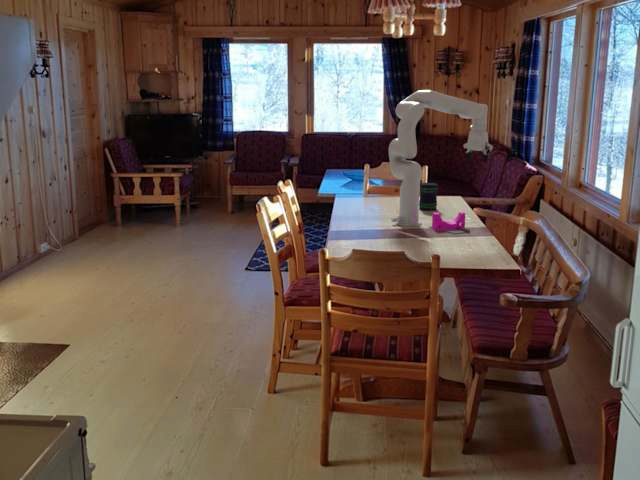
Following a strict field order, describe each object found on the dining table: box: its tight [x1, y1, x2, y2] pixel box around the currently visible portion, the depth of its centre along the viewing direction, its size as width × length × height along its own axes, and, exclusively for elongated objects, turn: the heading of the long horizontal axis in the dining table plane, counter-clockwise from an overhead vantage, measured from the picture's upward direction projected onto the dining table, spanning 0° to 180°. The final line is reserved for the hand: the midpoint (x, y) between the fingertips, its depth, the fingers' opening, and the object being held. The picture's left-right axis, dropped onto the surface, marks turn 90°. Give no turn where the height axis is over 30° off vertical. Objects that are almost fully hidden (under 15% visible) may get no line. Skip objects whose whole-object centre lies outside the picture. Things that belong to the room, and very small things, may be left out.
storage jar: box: [419, 182, 439, 212], centre depth 359 cm, size 10×10×15 cm
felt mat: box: [428, 226, 467, 235], centre depth 307 cm, size 7×18×1 cm, turn 32°
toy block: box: [431, 211, 466, 232], centre depth 308 cm, size 15×6×8 cm, turn 95°
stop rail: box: [457, 227, 471, 234], centre depth 309 cm, size 1×20×1 cm, turn 32°
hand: (477, 161), depth 336 cm, fingers open, 9 cm apart
